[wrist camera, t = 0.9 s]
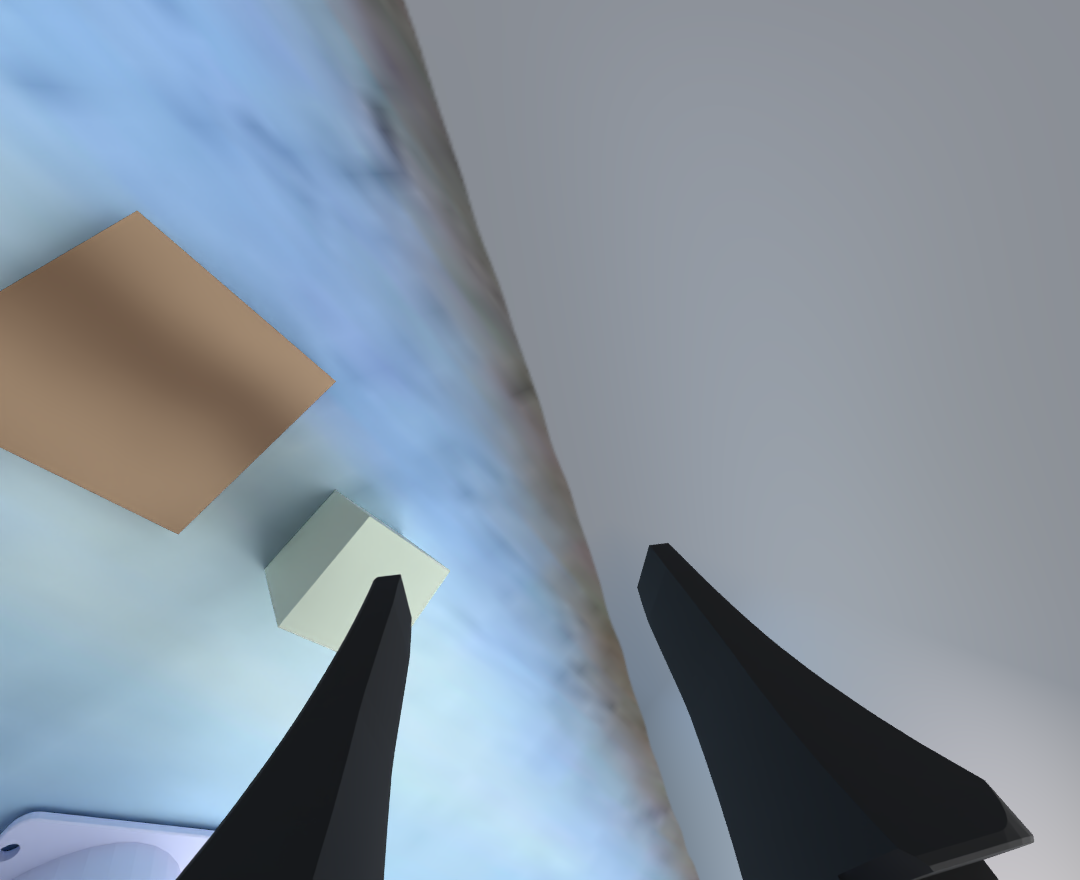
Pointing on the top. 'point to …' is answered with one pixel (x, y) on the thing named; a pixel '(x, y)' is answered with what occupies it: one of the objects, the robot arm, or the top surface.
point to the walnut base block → (143, 374)
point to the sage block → (344, 571)
